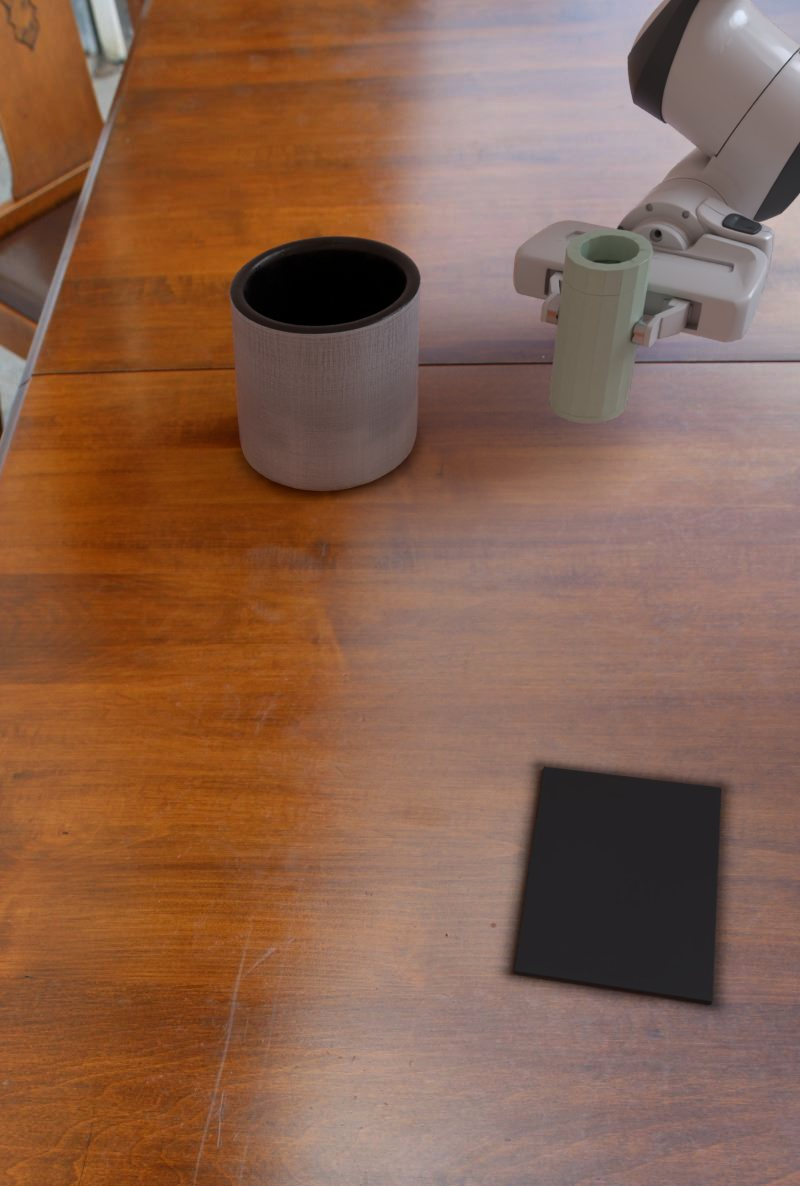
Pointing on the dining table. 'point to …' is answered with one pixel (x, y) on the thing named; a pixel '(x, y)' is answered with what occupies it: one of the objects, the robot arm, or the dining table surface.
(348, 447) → the planter
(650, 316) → the robot arm
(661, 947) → the mat
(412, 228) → the dining table surface
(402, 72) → the dining table surface
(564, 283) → the green hollow cylinder
